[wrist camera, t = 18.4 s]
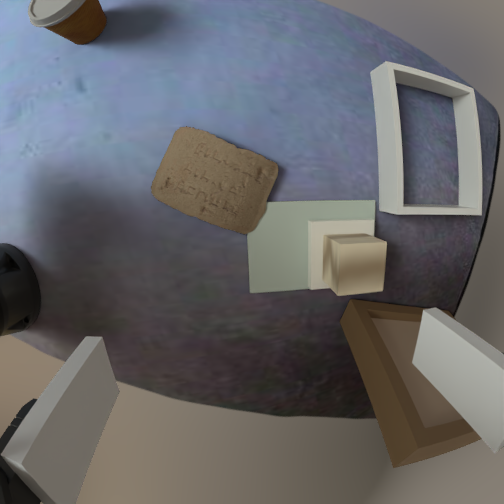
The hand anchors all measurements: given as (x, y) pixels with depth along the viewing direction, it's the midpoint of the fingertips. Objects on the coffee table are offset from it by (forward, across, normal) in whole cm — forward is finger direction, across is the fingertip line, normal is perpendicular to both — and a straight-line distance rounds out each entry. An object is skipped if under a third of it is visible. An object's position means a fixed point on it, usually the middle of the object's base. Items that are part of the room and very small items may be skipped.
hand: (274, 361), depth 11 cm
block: (+26, +14, -3) cm, 30 cm away
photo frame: (+29, +24, -20) cm, 43 cm away
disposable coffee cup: (+29, -22, +34) cm, 50 cm away
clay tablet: (+29, -3, +7) cm, 30 cm away
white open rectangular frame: (+29, +29, +13) cm, 43 cm away
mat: (+29, +10, -2) cm, 30 cm away
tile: (+27, +9, -3) cm, 29 cm away
